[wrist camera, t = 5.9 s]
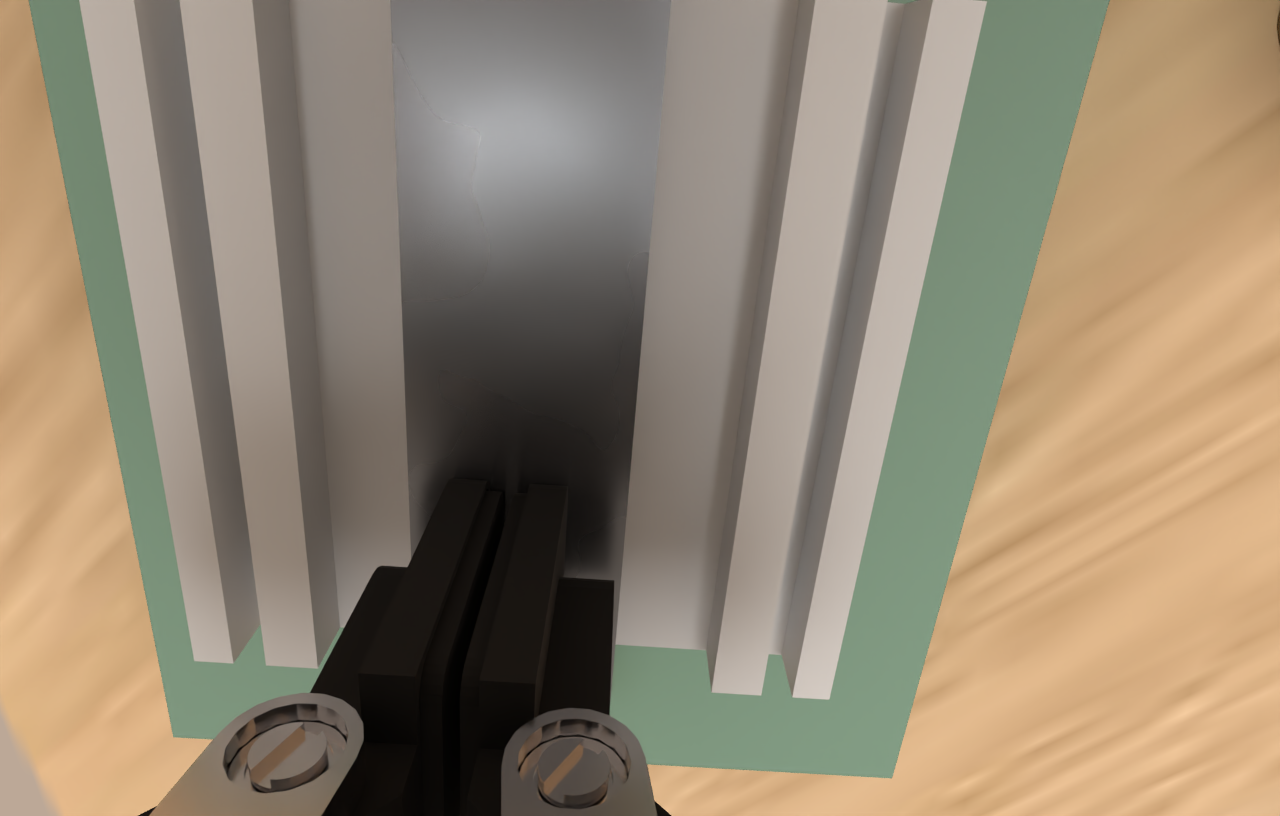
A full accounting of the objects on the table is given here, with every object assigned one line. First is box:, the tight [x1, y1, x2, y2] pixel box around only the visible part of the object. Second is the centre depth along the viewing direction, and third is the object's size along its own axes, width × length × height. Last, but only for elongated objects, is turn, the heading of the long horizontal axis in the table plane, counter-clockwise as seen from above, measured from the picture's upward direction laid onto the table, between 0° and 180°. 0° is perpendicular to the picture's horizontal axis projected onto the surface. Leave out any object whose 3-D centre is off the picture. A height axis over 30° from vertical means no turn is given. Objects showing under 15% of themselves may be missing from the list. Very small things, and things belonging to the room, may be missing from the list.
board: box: [29, 0, 1110, 778], centre depth 14 cm, size 24×18×8 cm
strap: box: [390, 0, 671, 701], centre depth 11 cm, size 13×3×2 cm, turn 175°
